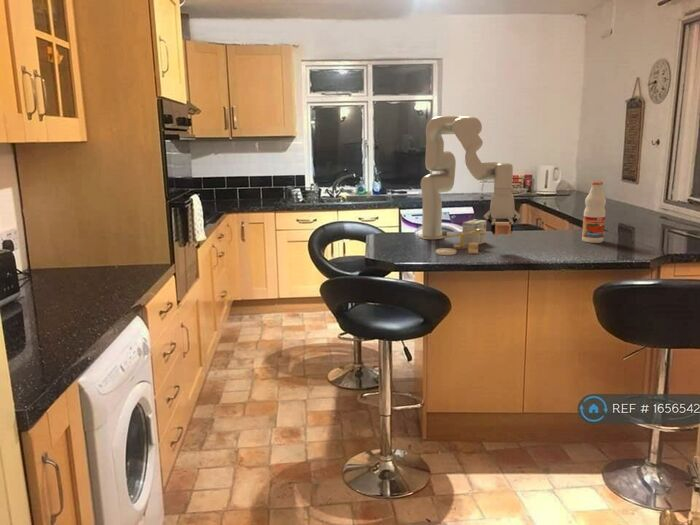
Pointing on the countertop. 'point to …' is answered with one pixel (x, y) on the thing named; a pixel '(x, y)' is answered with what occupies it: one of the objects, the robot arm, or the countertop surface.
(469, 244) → the block
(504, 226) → the reddish brown box
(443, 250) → the dish
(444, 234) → the balance
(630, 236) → the countertop surface
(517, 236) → the countertop surface
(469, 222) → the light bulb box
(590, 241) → the fruit juice
